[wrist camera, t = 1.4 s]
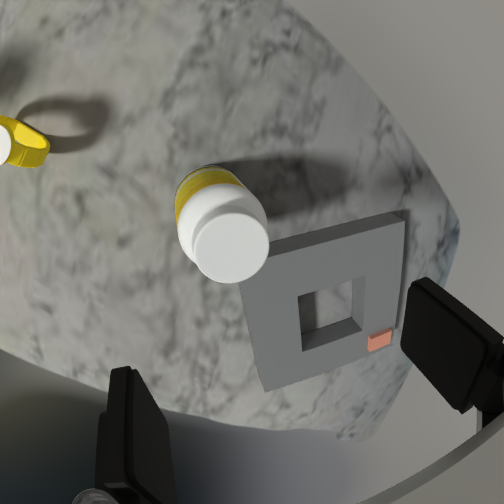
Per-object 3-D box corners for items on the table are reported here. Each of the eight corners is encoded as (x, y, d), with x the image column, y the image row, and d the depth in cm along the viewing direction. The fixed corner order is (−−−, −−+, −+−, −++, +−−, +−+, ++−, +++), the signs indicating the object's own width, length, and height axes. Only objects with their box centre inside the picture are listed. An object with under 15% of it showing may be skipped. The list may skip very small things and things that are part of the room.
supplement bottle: (159, 202, 24) (157, 256, 16) (207, 150, 23) (231, 174, 15) (210, 243, 27) (234, 311, 18) (256, 195, 26) (303, 241, 17)
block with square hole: (232, 252, 27) (240, 268, 25) (389, 212, 30) (408, 222, 27) (258, 376, 35) (266, 396, 32) (381, 333, 37) (394, 348, 34)
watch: (63, 135, 20) (39, 147, 15) (47, 166, 21) (22, 187, 16) (7, 103, 17) (-27, 108, 12) (-7, 135, 18) (-43, 148, 13)
